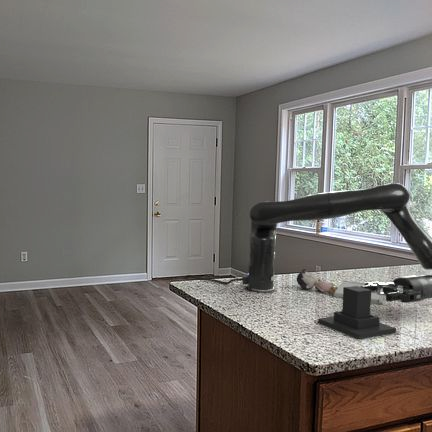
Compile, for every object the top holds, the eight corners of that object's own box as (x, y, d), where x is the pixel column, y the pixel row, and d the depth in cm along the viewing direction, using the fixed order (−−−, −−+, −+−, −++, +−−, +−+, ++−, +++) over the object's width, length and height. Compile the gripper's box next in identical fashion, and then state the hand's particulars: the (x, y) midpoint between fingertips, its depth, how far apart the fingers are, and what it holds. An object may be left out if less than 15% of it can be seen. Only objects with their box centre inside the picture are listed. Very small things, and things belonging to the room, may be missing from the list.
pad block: (355, 327, 119) (357, 291, 118) (341, 321, 123) (343, 287, 122) (369, 325, 120) (371, 290, 120) (354, 319, 125) (356, 285, 124)
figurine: (329, 293, 154) (291, 277, 164) (329, 306, 157) (291, 289, 167) (342, 277, 159) (304, 262, 169) (341, 290, 162) (304, 275, 172)
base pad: (358, 339, 113) (359, 325, 113) (317, 322, 126) (318, 310, 126) (395, 332, 119) (396, 319, 118) (353, 317, 132) (353, 305, 131)
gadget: (379, 304, 146) (380, 293, 146) (333, 296, 155) (333, 286, 155) (392, 291, 164) (393, 281, 163) (349, 284, 173) (350, 275, 173)
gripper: (391, 271, 137) (353, 275, 130) (437, 281, 124) (397, 286, 117) (389, 295, 137) (352, 299, 131) (435, 307, 124) (395, 313, 118)
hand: (373, 293), depth 124 cm, fingers open, 8 cm apart
